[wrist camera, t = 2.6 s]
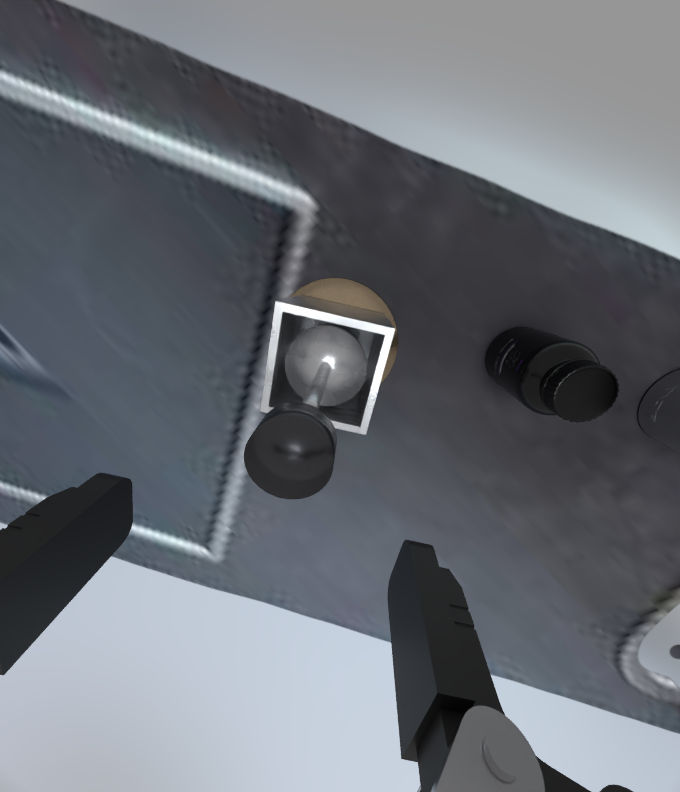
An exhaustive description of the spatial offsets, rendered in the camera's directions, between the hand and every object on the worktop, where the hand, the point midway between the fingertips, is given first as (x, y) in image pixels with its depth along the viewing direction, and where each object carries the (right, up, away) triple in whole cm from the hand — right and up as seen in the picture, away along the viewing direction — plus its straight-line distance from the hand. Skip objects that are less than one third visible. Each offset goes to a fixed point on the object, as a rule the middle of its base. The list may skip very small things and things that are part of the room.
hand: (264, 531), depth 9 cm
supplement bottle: (+22, +8, +26) cm, 35 cm away
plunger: (+1, +7, +18) cm, 19 cm away
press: (+2, +10, +27) cm, 29 cm away
